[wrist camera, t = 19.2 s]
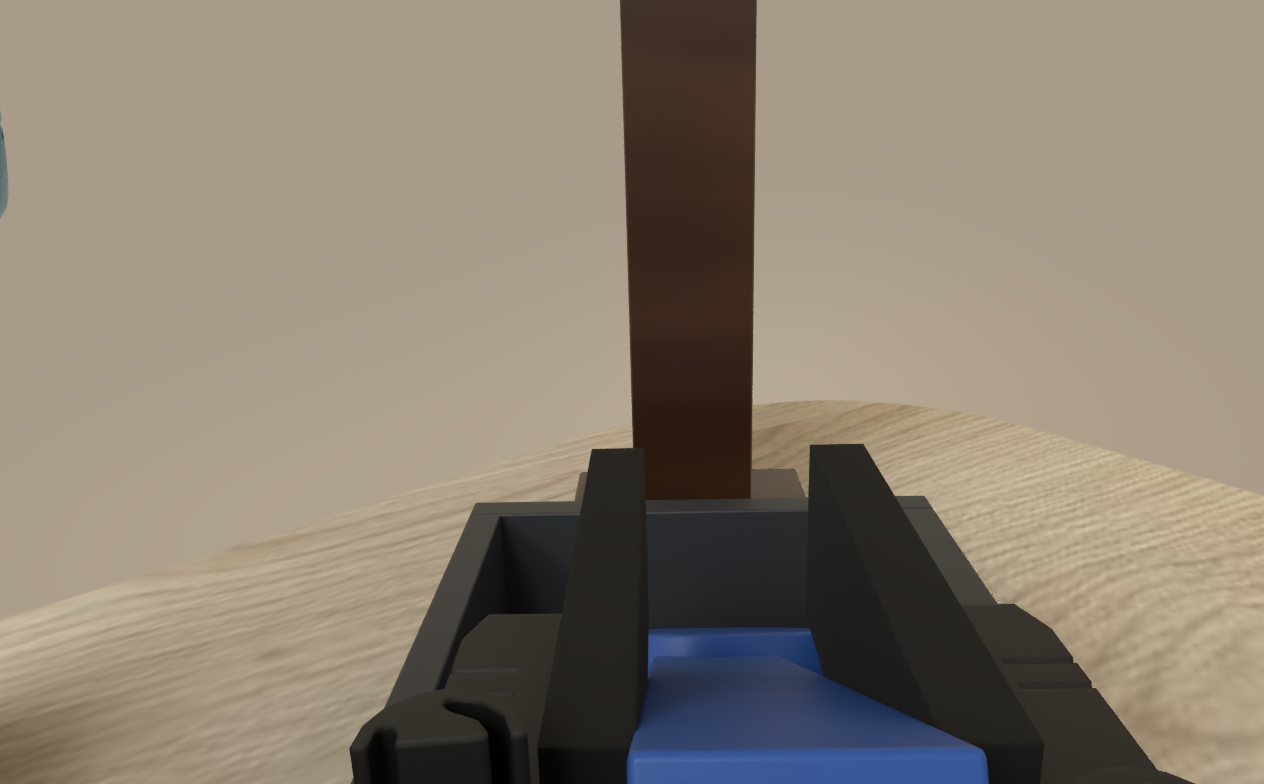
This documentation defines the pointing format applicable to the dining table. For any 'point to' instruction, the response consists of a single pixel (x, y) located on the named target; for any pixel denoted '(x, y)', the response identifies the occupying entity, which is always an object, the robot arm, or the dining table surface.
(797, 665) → the blue disc paddle
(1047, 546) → the dining table surface
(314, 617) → the dining table surface
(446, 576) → the holder
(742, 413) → the stand
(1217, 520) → the dining table surface
